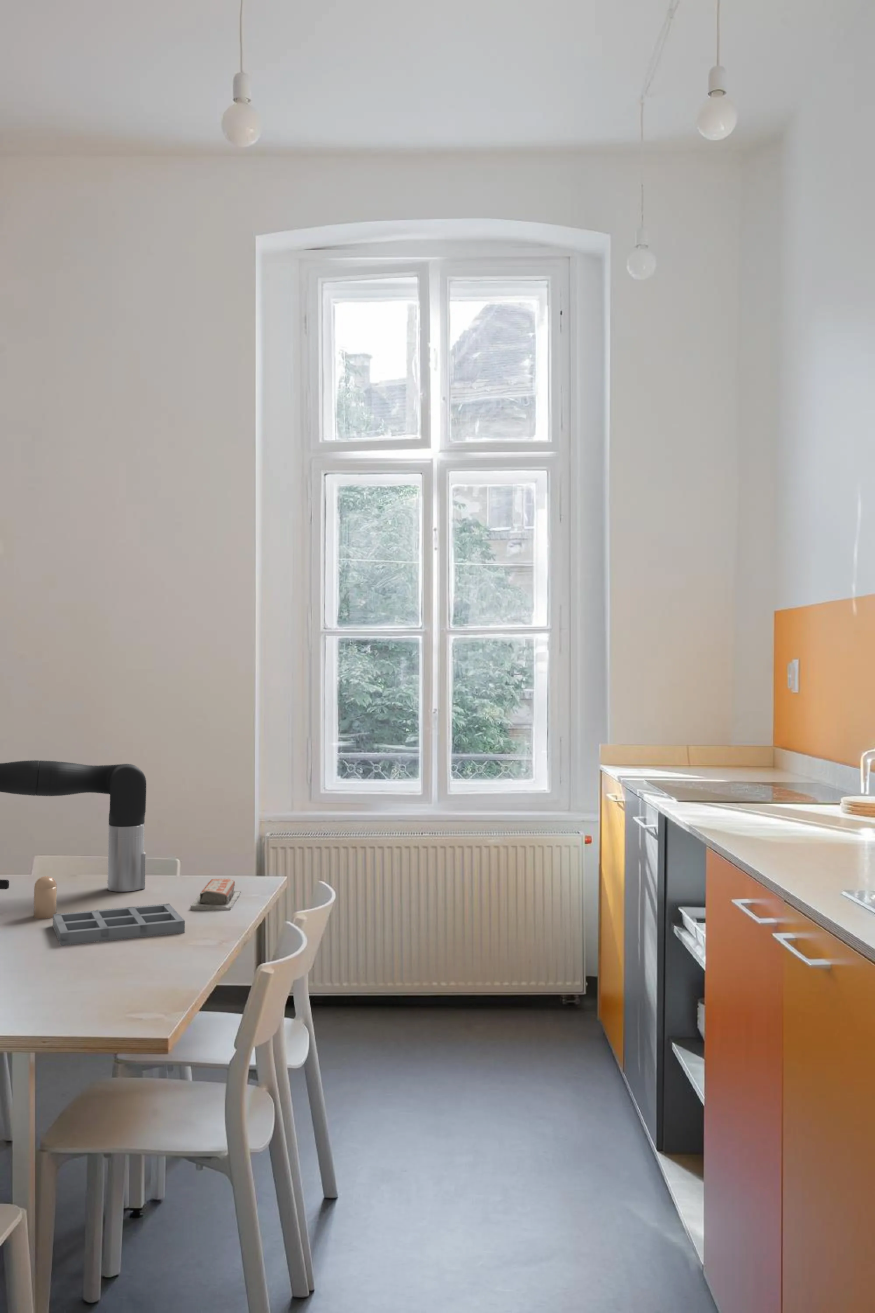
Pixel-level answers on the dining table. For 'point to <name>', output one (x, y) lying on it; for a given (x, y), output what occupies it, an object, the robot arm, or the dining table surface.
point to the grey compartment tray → (117, 924)
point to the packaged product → (217, 896)
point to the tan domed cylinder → (45, 897)
